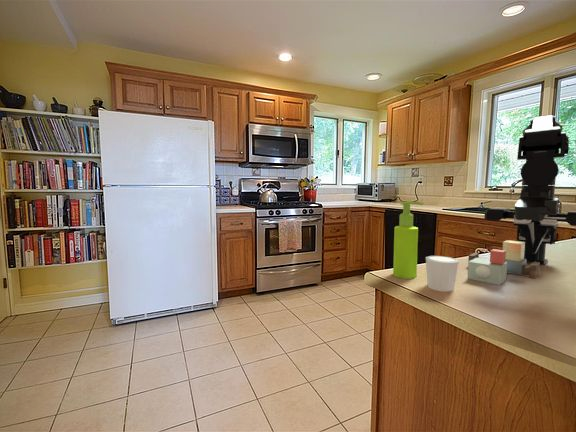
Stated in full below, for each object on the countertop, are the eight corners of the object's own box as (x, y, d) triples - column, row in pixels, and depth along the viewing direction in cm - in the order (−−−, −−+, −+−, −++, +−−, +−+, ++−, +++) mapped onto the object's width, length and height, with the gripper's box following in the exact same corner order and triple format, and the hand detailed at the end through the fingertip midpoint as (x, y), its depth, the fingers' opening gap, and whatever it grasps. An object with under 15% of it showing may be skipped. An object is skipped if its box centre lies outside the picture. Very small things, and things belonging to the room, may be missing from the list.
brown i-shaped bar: (468, 266, 86) (468, 255, 86) (473, 263, 89) (474, 252, 89) (535, 278, 74) (536, 265, 74) (538, 274, 77) (539, 262, 77)
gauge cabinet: (475, 273, 79) (476, 257, 78) (506, 279, 73) (507, 262, 73) (467, 278, 75) (468, 261, 74) (498, 285, 69) (499, 266, 69)
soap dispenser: (423, 279, 74) (425, 202, 73) (395, 277, 76) (397, 202, 74) (417, 272, 80) (420, 201, 78) (391, 271, 82) (393, 201, 80)
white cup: (430, 280, 73) (431, 253, 73) (461, 287, 68) (462, 258, 68) (420, 287, 68) (421, 258, 68) (452, 294, 64) (453, 263, 63)
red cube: (492, 260, 74) (493, 249, 74) (505, 262, 72) (506, 250, 72) (489, 262, 72) (490, 250, 72) (502, 264, 70) (503, 252, 70)
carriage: (498, 270, 80) (500, 241, 79) (503, 267, 83) (505, 239, 82) (521, 274, 76) (523, 244, 75) (525, 270, 79) (527, 242, 79)
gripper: (478, 186, 67) (474, 252, 69) (594, 185, 53) (587, 268, 54) (493, 186, 74) (489, 245, 76) (599, 185, 60) (592, 258, 61)
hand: (533, 253), depth 67 cm, fingers closed
